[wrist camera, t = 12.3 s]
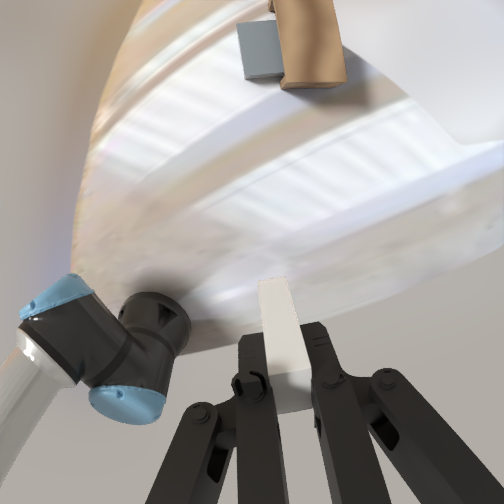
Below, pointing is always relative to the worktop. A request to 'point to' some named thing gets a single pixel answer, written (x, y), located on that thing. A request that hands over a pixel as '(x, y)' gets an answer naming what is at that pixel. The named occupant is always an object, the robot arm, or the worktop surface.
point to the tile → (260, 49)
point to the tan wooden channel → (309, 43)
